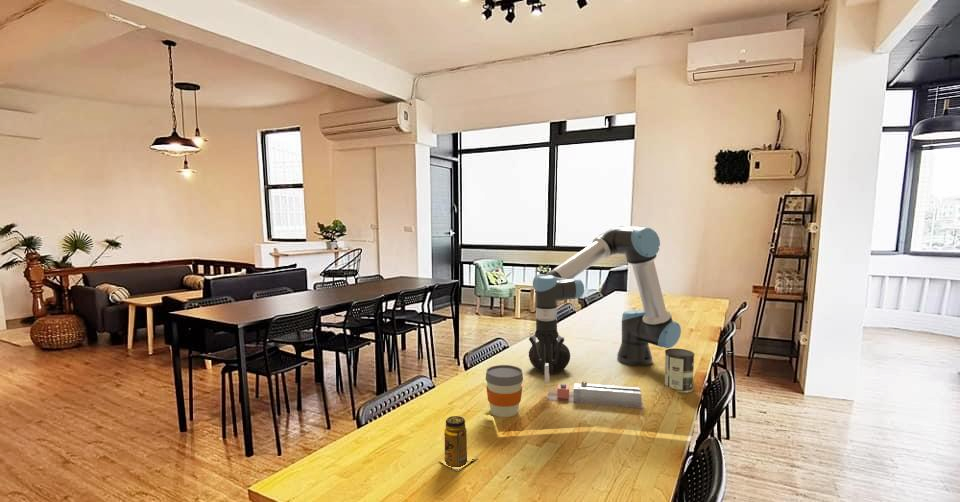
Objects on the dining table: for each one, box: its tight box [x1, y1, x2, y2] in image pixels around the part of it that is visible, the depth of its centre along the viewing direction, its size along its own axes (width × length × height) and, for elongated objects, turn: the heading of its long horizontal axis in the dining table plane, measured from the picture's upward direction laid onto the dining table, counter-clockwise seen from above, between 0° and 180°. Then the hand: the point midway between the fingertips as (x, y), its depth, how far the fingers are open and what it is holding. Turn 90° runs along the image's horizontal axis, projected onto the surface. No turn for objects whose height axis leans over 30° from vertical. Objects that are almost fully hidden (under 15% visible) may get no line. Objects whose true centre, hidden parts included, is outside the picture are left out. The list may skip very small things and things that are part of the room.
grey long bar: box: [573, 382, 643, 409], centre depth 158 cm, size 5×23×5 cm, turn 76°
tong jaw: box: [581, 381, 642, 393], centre depth 159 cm, size 2×20×6 cm, turn 78°
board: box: [546, 390, 645, 410], centre depth 160 cm, size 9×33×1 cm, turn 76°
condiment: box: [443, 415, 479, 472], centre depth 123 cm, size 7×8×12 cm
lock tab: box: [556, 383, 570, 399], centre depth 162 cm, size 4×4×4 cm
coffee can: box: [664, 347, 695, 394], centre depth 173 cm, size 10×10×14 cm
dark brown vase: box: [528, 339, 571, 374], centre depth 193 cm, size 18×18×28 cm
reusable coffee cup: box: [485, 364, 524, 418], centre depth 151 cm, size 13×13×15 cm
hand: (547, 381), depth 165 cm, fingers closed
